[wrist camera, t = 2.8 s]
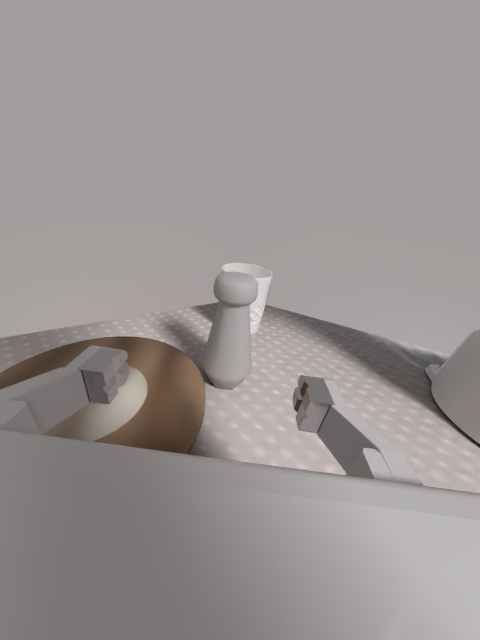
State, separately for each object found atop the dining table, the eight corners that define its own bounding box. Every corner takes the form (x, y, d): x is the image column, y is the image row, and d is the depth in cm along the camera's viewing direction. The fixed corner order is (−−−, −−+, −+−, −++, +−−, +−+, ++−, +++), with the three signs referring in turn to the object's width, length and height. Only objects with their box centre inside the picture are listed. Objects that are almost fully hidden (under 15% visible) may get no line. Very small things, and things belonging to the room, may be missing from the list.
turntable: (195, 339, 31) (195, 332, 31) (222, 507, 15) (223, 498, 14) (23, 347, 26) (19, 339, 25) (-246, 632, 9) (-276, 626, 9)
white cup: (231, 311, 43) (237, 260, 38) (268, 324, 40) (280, 271, 35) (207, 327, 37) (211, 268, 32) (249, 344, 34) (260, 282, 29)
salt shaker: (196, 365, 28) (200, 265, 22) (238, 358, 30) (251, 266, 24) (209, 401, 24) (217, 287, 17) (256, 389, 26) (279, 285, 20)
